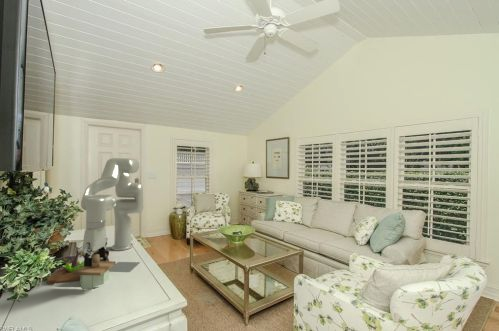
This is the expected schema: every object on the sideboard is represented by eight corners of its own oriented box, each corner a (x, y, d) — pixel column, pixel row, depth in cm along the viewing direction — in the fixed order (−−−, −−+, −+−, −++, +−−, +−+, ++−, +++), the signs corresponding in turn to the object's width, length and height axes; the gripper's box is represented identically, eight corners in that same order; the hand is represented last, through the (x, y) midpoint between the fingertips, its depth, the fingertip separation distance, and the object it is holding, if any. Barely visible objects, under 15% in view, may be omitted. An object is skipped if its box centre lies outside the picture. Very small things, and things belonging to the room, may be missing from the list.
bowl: (90, 277, 116) (91, 264, 116) (112, 278, 116) (112, 264, 116) (75, 289, 105) (75, 274, 105) (99, 289, 105) (99, 274, 105)
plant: (86, 285, 110) (87, 260, 110) (38, 287, 107) (39, 262, 107) (105, 266, 130) (106, 245, 130) (65, 268, 127) (66, 246, 127)
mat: (118, 263, 133) (118, 261, 133) (140, 264, 133) (140, 262, 133) (105, 273, 121) (105, 271, 121) (129, 274, 121) (129, 272, 121)
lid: (90, 263, 117) (91, 250, 117) (115, 264, 117) (115, 251, 117) (72, 274, 105) (72, 260, 105) (100, 275, 105) (100, 261, 105)
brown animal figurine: (104, 268, 127) (95, 256, 125) (90, 275, 128) (80, 263, 126) (117, 254, 139) (108, 243, 137) (103, 260, 140) (95, 249, 138)
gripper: (99, 220, 119) (98, 254, 119) (74, 229, 102) (73, 269, 102) (114, 220, 119) (113, 254, 119) (91, 229, 102) (90, 270, 102)
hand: (95, 261), depth 110 cm, fingers open, 9 cm apart
